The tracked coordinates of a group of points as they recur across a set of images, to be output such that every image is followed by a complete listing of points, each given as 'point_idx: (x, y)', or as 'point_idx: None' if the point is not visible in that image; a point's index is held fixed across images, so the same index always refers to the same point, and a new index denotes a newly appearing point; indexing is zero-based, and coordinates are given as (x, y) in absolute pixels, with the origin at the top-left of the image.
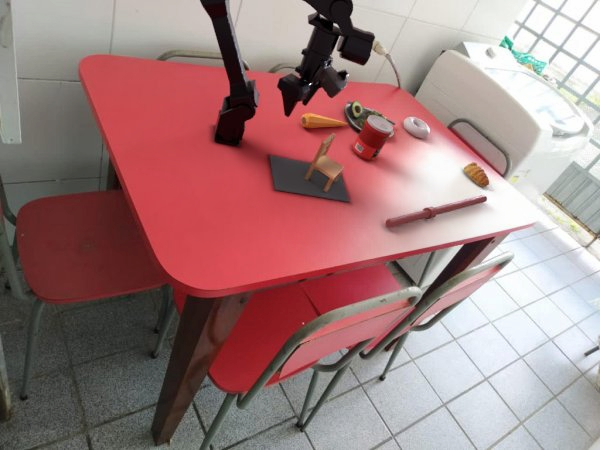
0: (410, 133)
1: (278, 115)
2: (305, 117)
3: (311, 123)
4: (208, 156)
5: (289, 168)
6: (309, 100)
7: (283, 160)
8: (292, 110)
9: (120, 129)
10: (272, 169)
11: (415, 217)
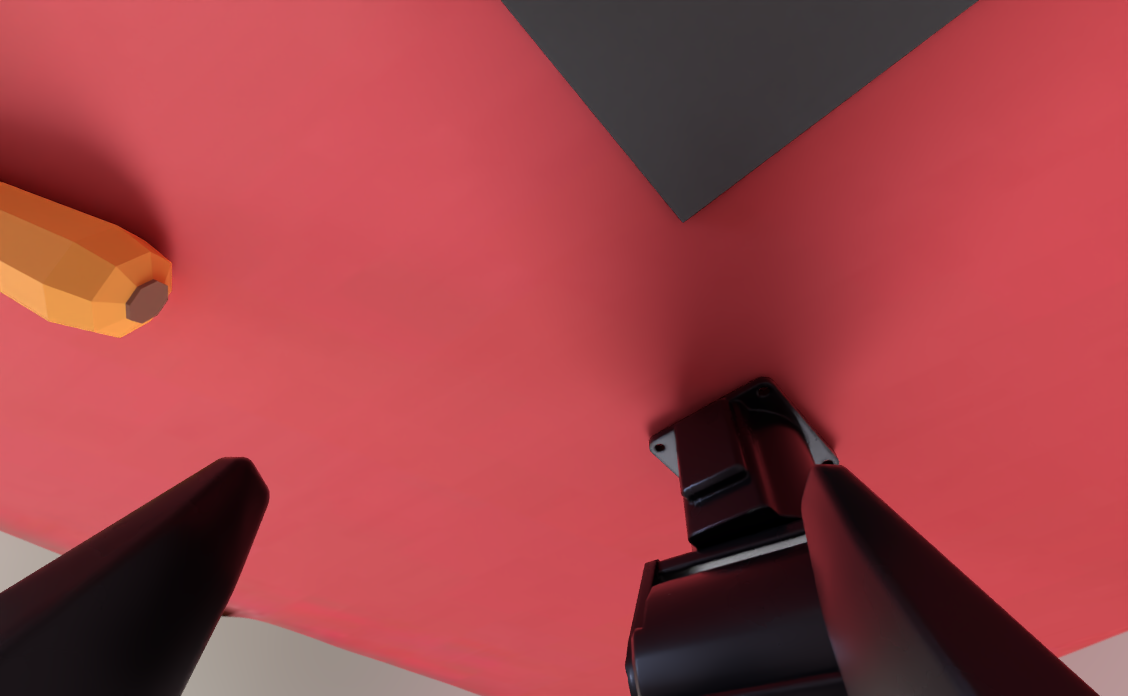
0: None
1: (282, 403)
2: (122, 310)
3: (97, 245)
4: (988, 412)
5: (699, 13)
6: (144, 533)
7: (645, 118)
8: (947, 596)
9: (1042, 636)
10: (835, 103)
11: None
